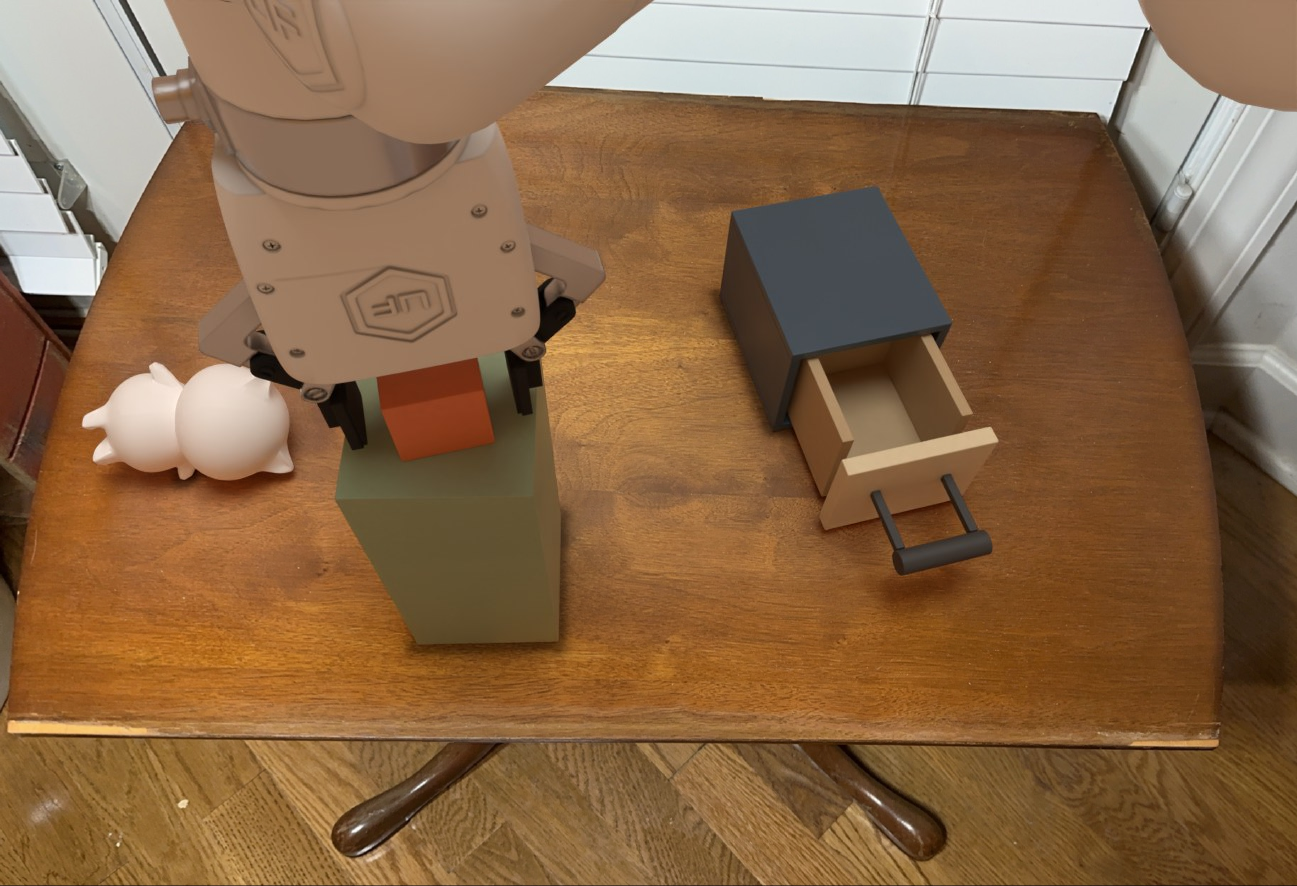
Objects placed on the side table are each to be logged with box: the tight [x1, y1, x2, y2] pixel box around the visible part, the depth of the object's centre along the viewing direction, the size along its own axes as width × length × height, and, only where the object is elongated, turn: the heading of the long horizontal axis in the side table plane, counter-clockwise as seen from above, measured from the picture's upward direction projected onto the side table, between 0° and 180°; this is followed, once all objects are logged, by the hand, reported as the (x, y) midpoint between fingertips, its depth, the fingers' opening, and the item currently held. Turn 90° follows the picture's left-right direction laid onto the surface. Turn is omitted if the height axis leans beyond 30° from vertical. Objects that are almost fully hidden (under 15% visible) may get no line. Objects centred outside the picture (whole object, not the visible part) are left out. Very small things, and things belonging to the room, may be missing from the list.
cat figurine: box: [81, 361, 295, 481], centre depth 64 cm, size 9×11×12 cm
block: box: [376, 357, 495, 462], centre depth 42 cm, size 4×4×4 cm
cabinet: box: [719, 185, 953, 432], centre depth 68 cm, size 13×11×9 cm
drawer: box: [787, 333, 999, 577], centre depth 62 cm, size 18×10×8 cm, turn 15°
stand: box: [334, 351, 562, 646], centre depth 53 cm, size 9×9×20 cm
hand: (439, 405), depth 43 cm, fingers open, 7 cm apart
